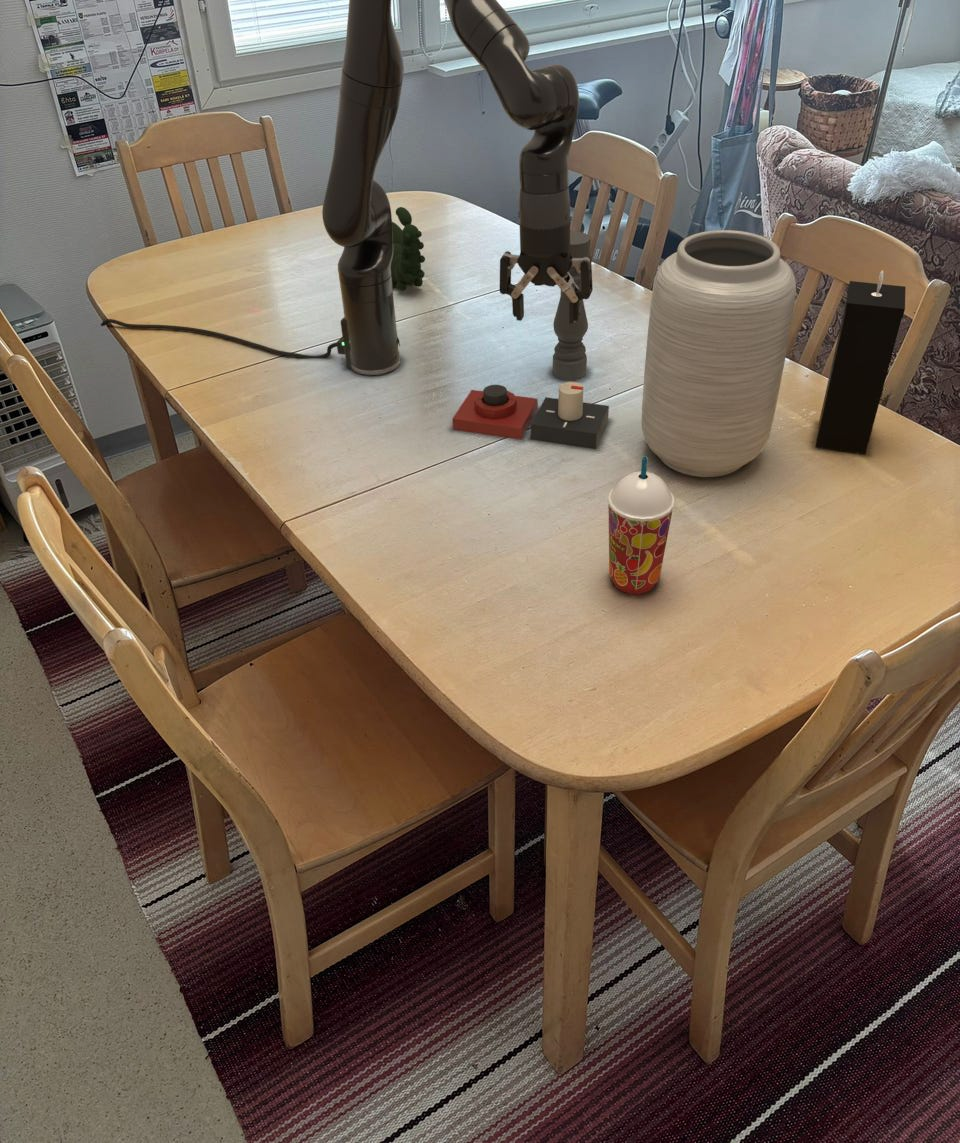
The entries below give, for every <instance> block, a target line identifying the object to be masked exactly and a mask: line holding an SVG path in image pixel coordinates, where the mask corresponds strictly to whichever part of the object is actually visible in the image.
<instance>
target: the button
mask: <svg viewBox="0 0 960 1143" xmlns="http://www.w3.org/2000/svg"><path fill="white" fill-rule="evenodd" d="M482 391H483V400H484V403H485V404H486V405H488V406H501V405H504V404H506V403H507V391H508V389H507V387H505V385H502V384H489V385H486V386H485V387H484V388H483V390H482Z"/></svg>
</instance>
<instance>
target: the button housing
mask: <svg viewBox="0 0 960 1143" xmlns="http://www.w3.org/2000/svg"><path fill="white" fill-rule="evenodd" d="M538 402H539V398H535V397H530V396H529V397H528V396H522V395H521V396H520V395H515V393H513V392H511V391H509V390H507V403H506V404H504V405H501V406H488V405H486V404H485V403H484V400H483V390H476V389H471V390H470V392H469V393H468V395H467V396H466V398H465V399H464V401H463V402H462V403H461V405H460V406H459V408H458V410H456V412H455V414H454V416H453V417H452V430H454V431H461V432H467V433H473V434H481V435H486V436H487V435H488V436H494V437H500V438H508V439H514V440H520V441H521V440H522V439H523V437H524V435H525V434H526V432H527V430H528V428H529V426H531V423H532V421H533V419H534V417H535V416H536V414H537V412H538V410H539V407H538V406H539V403H538Z"/></svg>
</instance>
